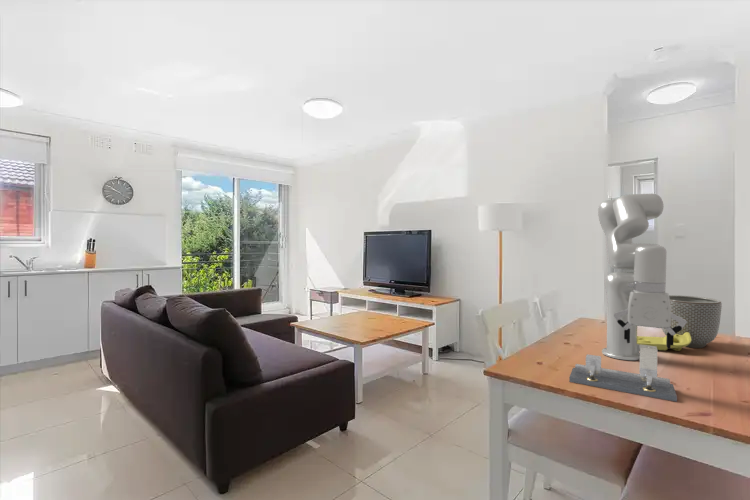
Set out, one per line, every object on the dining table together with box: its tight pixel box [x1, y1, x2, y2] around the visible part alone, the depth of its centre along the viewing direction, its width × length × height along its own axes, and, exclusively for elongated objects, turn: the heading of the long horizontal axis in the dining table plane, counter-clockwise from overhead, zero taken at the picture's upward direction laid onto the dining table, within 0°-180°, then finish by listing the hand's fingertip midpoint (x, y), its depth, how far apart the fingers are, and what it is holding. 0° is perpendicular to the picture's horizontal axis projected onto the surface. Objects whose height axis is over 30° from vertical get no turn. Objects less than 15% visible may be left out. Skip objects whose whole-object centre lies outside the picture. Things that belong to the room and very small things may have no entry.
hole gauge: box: [568, 353, 678, 403], centre depth 112 cm, size 26×10×7 cm, turn 56°
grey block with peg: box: [639, 344, 658, 388], centre depth 108 cm, size 4×8×10 cm, turn 146°
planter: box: [661, 294, 723, 349], centre depth 153 cm, size 20×20×19 cm
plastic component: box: [637, 332, 691, 352], centre depth 149 cm, size 20×7×10 cm
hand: (647, 344), depth 110 cm, fingers open, 9 cm apart
